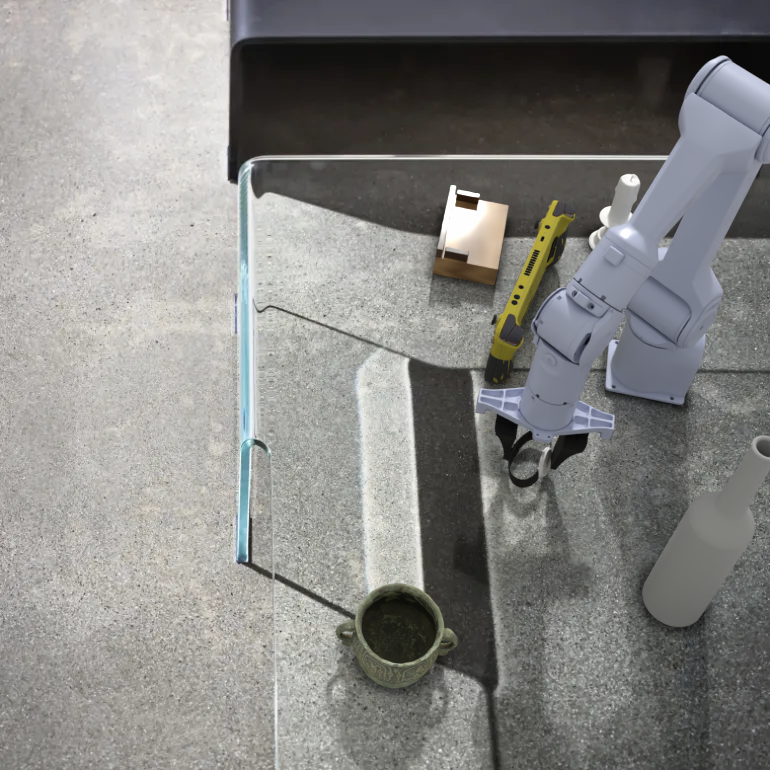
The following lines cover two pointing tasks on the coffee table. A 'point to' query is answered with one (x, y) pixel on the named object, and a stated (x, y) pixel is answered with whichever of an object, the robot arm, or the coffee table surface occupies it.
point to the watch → (542, 467)
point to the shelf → (471, 238)
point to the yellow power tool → (527, 291)
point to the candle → (618, 207)
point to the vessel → (397, 635)
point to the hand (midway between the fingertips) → (529, 457)
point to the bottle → (706, 544)
